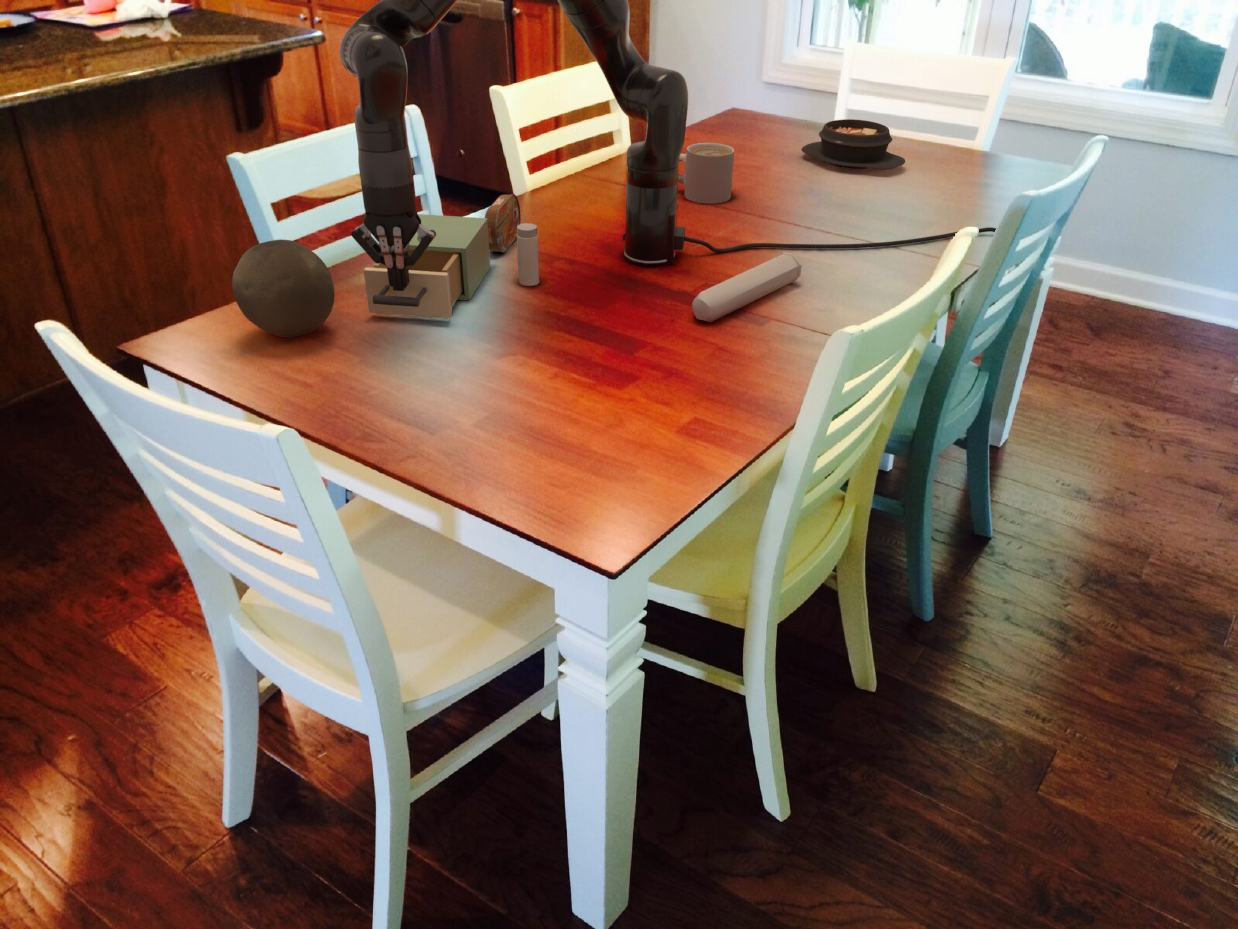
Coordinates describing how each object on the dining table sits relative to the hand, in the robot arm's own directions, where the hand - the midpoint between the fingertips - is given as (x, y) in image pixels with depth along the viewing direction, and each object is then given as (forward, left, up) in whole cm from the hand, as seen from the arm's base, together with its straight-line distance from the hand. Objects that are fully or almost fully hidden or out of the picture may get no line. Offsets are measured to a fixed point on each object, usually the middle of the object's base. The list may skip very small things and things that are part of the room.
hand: (400, 288), depth 152 cm
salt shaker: (-15, -21, -7) cm, 27 cm away
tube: (-53, -19, -7) cm, 57 cm away
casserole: (-76, -104, -7) cm, 129 cm away
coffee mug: (-42, -74, -7) cm, 86 cm away
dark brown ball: (+16, +6, -7) cm, 18 cm away
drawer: (0, -7, -6) cm, 9 cm away
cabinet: (0, -19, -7) cm, 21 cm away
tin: (-7, -38, -7) cm, 40 cm away
